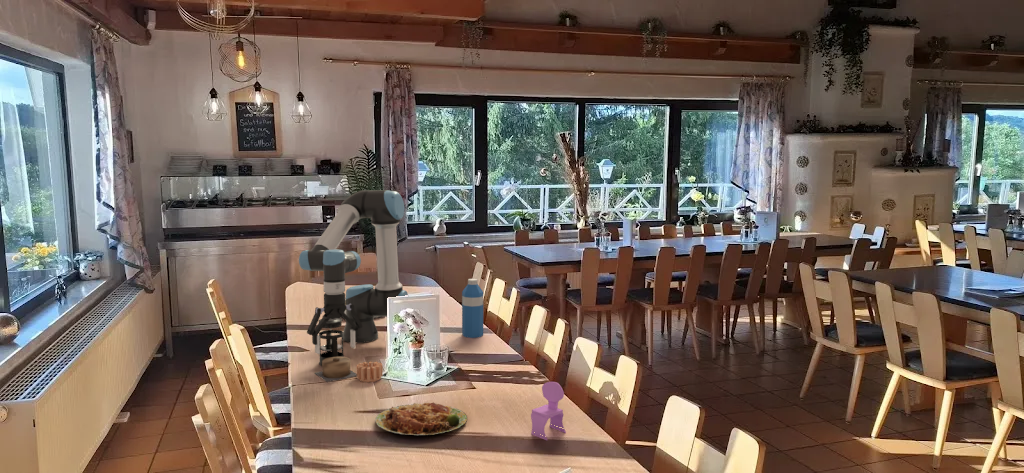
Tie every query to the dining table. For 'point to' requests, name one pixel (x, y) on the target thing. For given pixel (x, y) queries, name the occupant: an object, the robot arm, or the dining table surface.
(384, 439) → the dining table surface
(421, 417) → the rice dish
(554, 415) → the toy chair
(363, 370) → the orange ridged cylinder
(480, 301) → the water bottle
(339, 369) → the tan squat cylinder
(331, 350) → the french press
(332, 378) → the mat
